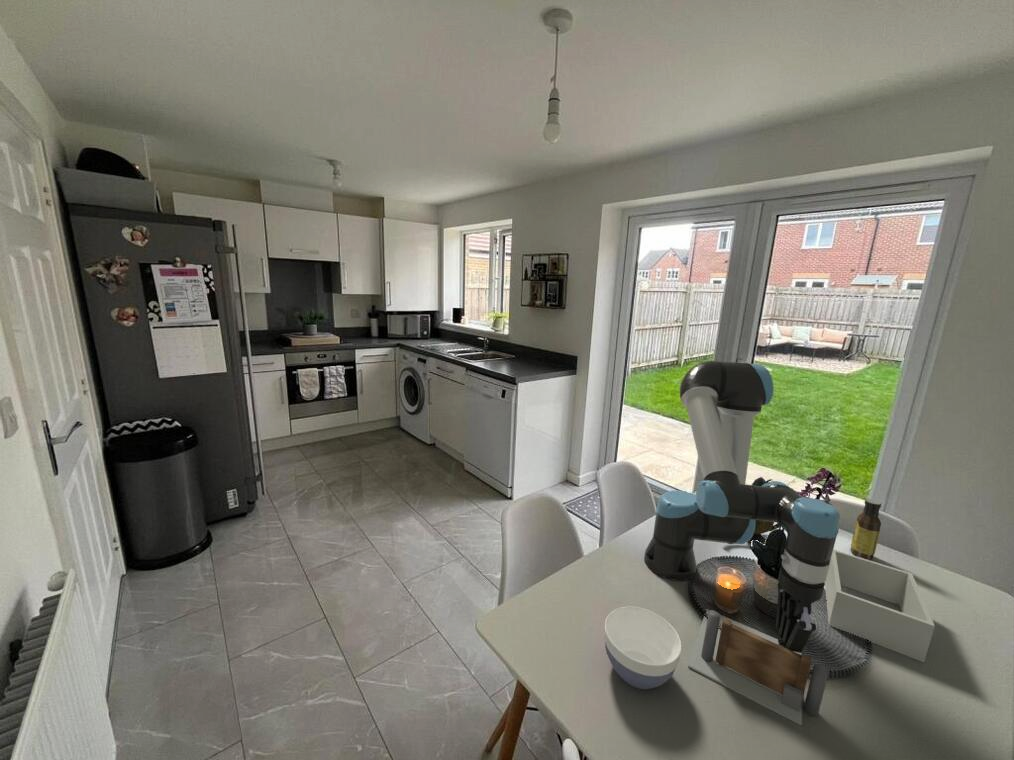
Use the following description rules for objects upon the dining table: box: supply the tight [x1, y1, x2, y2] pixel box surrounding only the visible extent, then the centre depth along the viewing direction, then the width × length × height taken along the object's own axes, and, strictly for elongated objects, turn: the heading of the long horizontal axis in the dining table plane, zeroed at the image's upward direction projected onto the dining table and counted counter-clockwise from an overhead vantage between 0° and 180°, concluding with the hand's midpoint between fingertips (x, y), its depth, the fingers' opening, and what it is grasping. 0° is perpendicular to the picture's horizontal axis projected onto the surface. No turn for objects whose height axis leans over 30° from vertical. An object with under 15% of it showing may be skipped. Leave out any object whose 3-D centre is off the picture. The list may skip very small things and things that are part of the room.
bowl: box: [603, 606, 683, 690], centre depth 90 cm, size 16×16×10 cm
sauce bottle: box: [849, 498, 882, 561], centre depth 138 cm, size 6×6×20 cm
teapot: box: [747, 476, 782, 545], centre depth 143 cm, size 12×25×23 cm, turn 107°
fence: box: [687, 608, 829, 726], centre depth 93 cm, size 24×22×12 cm
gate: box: [715, 618, 812, 705], centre depth 88 cm, size 16×2×10 cm, turn 53°
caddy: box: [824, 548, 936, 663], centre depth 111 cm, size 18×24×10 cm
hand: (781, 667), depth 89 cm, fingers closed
